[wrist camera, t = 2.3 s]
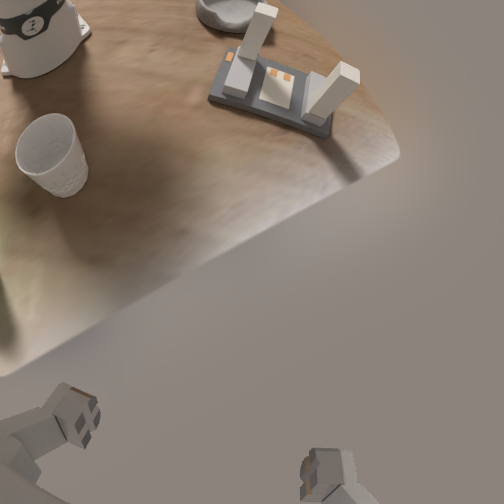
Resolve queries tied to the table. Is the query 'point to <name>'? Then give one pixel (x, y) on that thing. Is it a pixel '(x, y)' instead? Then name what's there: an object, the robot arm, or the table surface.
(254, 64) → the switch box
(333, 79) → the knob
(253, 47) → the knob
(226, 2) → the dish
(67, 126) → the white cup
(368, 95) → the table surface
